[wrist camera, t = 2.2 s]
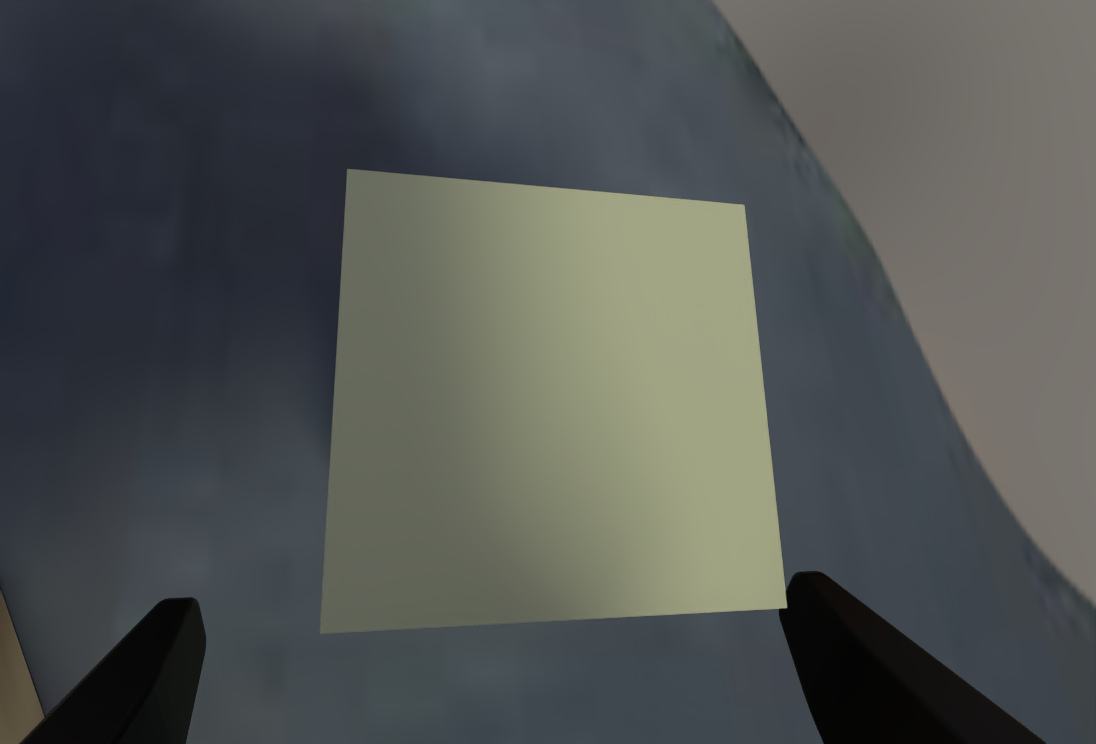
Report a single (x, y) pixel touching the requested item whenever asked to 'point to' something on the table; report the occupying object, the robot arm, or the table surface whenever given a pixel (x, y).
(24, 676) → the maple base
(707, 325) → the sage pillar
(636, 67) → the table surface
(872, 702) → the robot arm
